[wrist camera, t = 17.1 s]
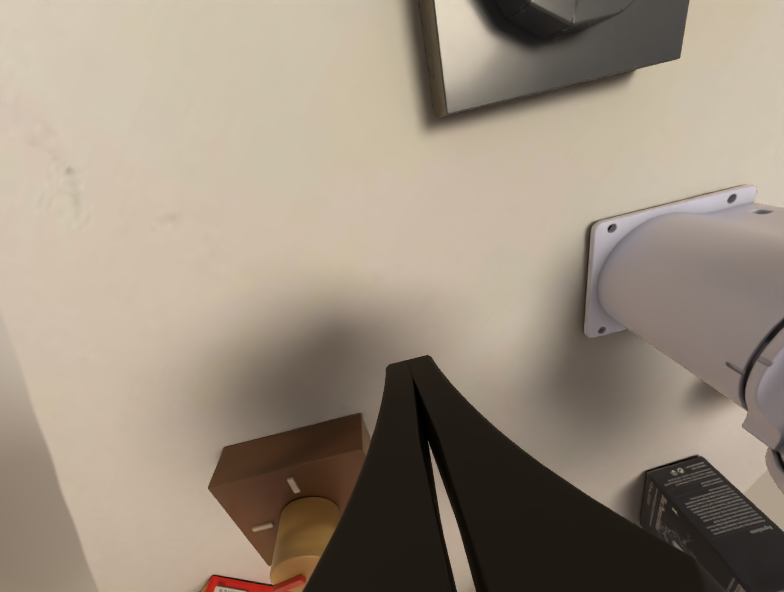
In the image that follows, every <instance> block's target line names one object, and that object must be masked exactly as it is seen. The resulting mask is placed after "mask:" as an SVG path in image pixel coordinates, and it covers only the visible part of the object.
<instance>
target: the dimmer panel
mask: <svg viewBox="0 0 784 592" xmlns="http://www.w3.org/2000/svg"><path fill="white" fill-rule="evenodd" d="M370 443H371V439H370V436H369V433H368V431H367V428H366V425H365V422H364V420H363V417H362V414H356V415H352V416H348V417H344V418H340V419H336V420H332V421H328V422H324V423H320V424H316V425H312V426H308V427H304V428H300V429H296V430H292V431H288V432H284V433H280V434H276V435H272V436H268V437H264V438H260V439H256V440H252V441H248V442H245V443H241V444H237V445H233V446H229V447H225V448H224V449H223V451H222V454H221V456H220V459H219V461H218V464H217V466H216V469H215V471H214V474H213V476H212V479H211V481H210V483H209V486H208V489H209V490H210V492H211V493H212V494H213V495H214V497H215V498H216V499H217V501H218V502H219V503H220V504H221V506H222V507H223V508H224V509H225V511H226V512H227V513H228V515H229V516H230V517H231V518H232V520H233V521H234V522H235V523H236V525H237V526H238V527H239V529H240V530H241V531H242V532H243V534H244V535H245V536H246V538H247V539H248V540H249V541H250V543H251V544H252V545H253V546H254V548H255V549H256V550H257V552H258V553H259V554H260V555H261V557H262V558H263V559H264V560H265V562H266V563H267V564H268V566H270V565H272V560H273V555H274V549H275V544H276V538H277V533H278V527H279V522H280V517H281V513H282V511H283V509H284V508H285V507H286V506H287V505H288V504H289V503H291V502H292V501H295V500H297V499H300V498H305V497H322V498H326V499H328V500H331V501H332V502H334V503H335V504H336V505H337V506H338V508H339V510H340V518H341V516H342V514H343V512H344V509H345V507H346V505H347V503H348V500H349V498H350V496H351V494H352V491H353V489H354V487H355V484H356V482H357V479H358V477H359V474H360V471H361V469H362V466H363V463H364V461H365V458H366V455H367V452H368V449H369V446H370Z"/></svg>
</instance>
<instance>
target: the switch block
mask: <svg viewBox="0 0 784 592" xmlns="http://www.w3.org/2000/svg"><path fill="white" fill-rule="evenodd" d="M688 5H689V0H419V6H420V14H421V21H422V28H423V36H424V43H425V51H426V58H427V65H428V73H429V80H430V87H431V95H432V102H433V109H434V117H435V118H438V117H442V116H447V115H451V114H455V113H459V112H463V111H467V110H471V109H475V108H479V107H484V106H488V105H492V104H496V103H500V102H504V101H508V100H512V99H516V98H521V97H525V96H529V95H533V94H537V93H541V92H545V91H549V90H553V89H557V88H562V87H566V86H570V85H574V84H578V83H582V82H586V81H590V80H594V79H598V78H603V77H607V76H611V75H615V74H619V73H623V72H627V71H631V70H635V69H639V68H644V67H648V66H652V65H656V64H660V63H664V62H668V61H672V60H676V59H679V58H680V55H681V49H682V43H683V37H684V30H685V24H686V18H687V12H688Z"/></svg>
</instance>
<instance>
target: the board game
mask: <svg viewBox="0 0 784 592" xmlns="http://www.w3.org/2000/svg"><path fill="white" fill-rule="evenodd" d="M201 592H274V591H273V586H267V585H261V584H255V583H250V582H244V581H239V580H233V579H228V578H223V577H218V576H212V577H211V578H210V580H209V581H208V582H207V584H206V585H205V586H204V588H203V589H202V590H201ZM285 592H293V591H285Z"/></svg>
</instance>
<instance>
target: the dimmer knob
mask: <svg viewBox="0 0 784 592" xmlns="http://www.w3.org/2000/svg"><path fill="white" fill-rule="evenodd" d="M339 520H340V510H339V508H338V506H337V505H336V504H335V503H334V502H332V501H331V500H328V499H326V498H322V497H305V498H300V499H297V500H295V501H292V502H291V503H289V504H288V505H287V506H286V507H285V508H284V509H283V511H282V513H281V517H280V522H279V527H278V533H277V538H276V544H275V549H274V555H273V560H272V566H271V571H270V579H271V581H272V583H273V584H274V586H273V591H274V592H285V591H293V592H302V591H303V589H304V587H305V586H306V584H307V582H308V580H309V578H310V576H311V575H312V573H313V571H314V569H315V567H316V565H317V563H318V561H319V559H320V558H321V556H322V554H323V552H324V550H325V548H326V546H327V544H328V542H329V541H330V539H331V537H332V535H333V533H334V531H335V529H336V527H337V524H338V522H339Z"/></svg>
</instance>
